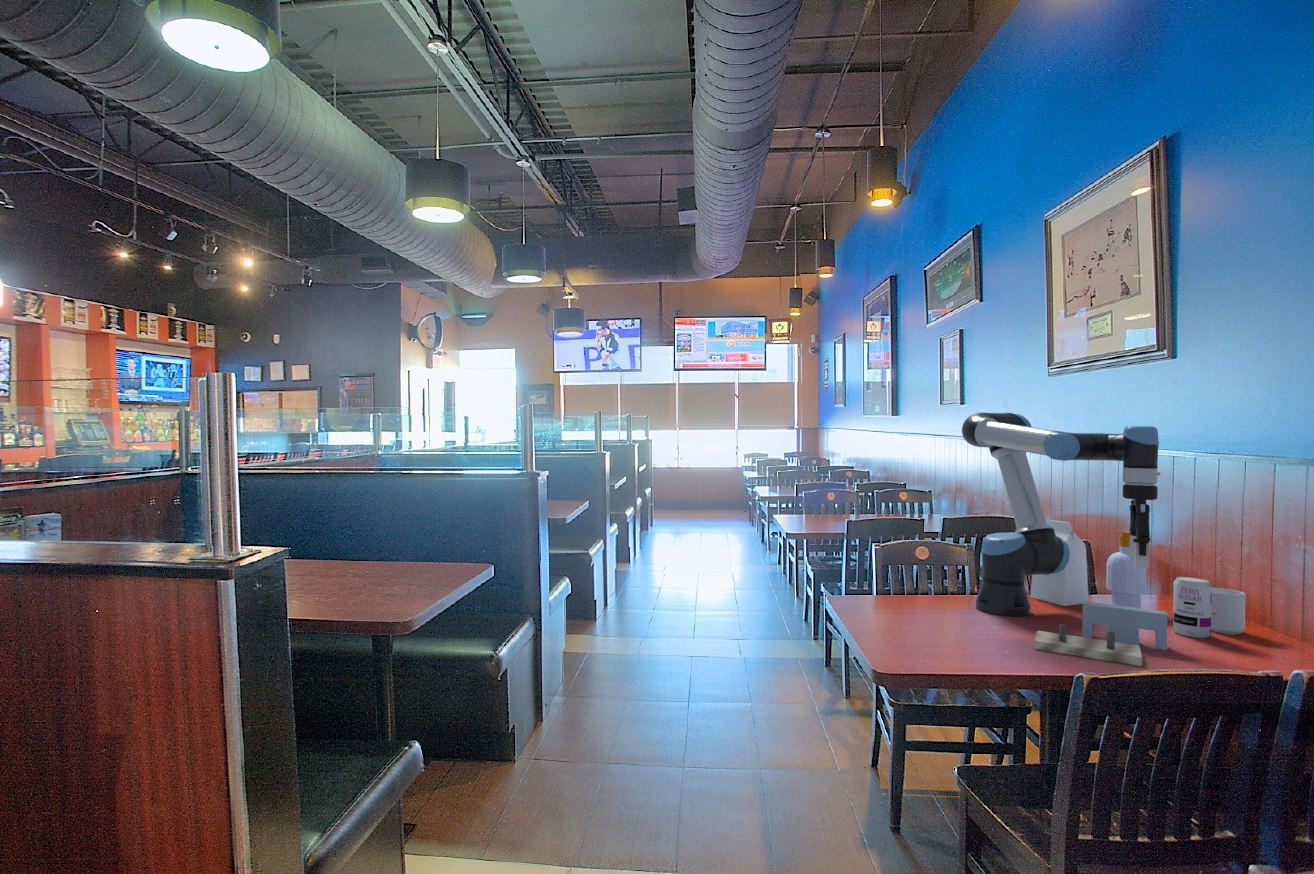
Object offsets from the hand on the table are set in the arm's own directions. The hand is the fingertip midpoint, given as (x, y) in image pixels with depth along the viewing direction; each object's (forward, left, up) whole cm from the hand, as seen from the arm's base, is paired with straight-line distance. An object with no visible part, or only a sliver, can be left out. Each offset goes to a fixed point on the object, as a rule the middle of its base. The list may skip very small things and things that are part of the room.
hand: (1138, 563), depth 177 cm
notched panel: (-3, -6, -20) cm, 21 cm away
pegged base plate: (-11, -21, -20) cm, 31 cm away
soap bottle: (-1, +37, -20) cm, 43 cm away
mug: (+20, +25, -20) cm, 38 cm away
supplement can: (+13, +14, -20) cm, 28 cm away
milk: (-19, +38, -20) cm, 47 cm away
